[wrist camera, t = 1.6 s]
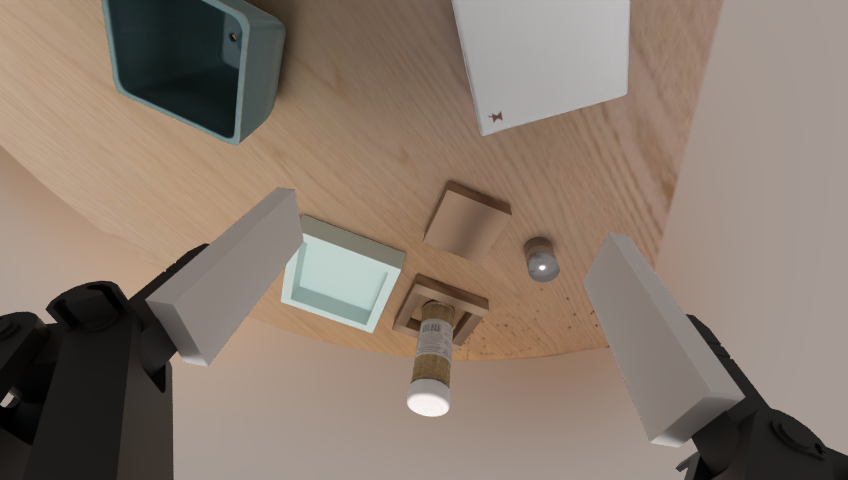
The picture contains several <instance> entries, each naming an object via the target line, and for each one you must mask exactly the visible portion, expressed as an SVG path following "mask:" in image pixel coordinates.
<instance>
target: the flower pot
mask: <svg viewBox="0 0 848 480" xmlns="http://www.w3.org/2000/svg"><path fill="white" fill-rule="evenodd" d="M101 1H102V8H103V13H104V20H105V27H106V33H107V39H108V45H109V50H110V58H111V65H112V73H113V80H114V83H115V86H116V89H117V90H118V92H119V93H121V94H122V95H124V96H126V97H128V98H130V99H132V100H134V101H137V102H139V103H141V104H143V105H146V106H148V107H150V108H152V109H155V110H157V111H160V112H161V113H164V114H166V115H168V116H170V117H172V118H175V119H177V120H179V121H181V122H184V123H186V124H188V125H190V126H193V127H194V128H197V129H199V130H201V131H203V132H205V133H207V134H209V135H212V136H214V137H216V138H218V139H220V140H222V141H224V142H226V143H228V144H232V145H238V144H239V143H240V142H242V141H243V140H244V139H245V138H246V137H247V136H248V135H250V134H251V133H252V132H253V131H254V130H255V129H257V128H258V127H259V126H260V125H261V124H262V123H263V122H264V121H265V120H266V119H267V118H268V116H269V115H270V113H271V111H272V109H273V106H274V103H275V99H276V95H277V88H278V81H279V75H280V68H281V61H282V54H283V48H284V42H285V35H286V29H285V26H284V24H283V23H282V22H281V21H280V20H279V19H278V18H276V17H274V16H272V15H270V14H268V13H267V12H265V11H263V10H261V9H259V8H257V7H255V6H253V5H251V4H250V3H248V2H246V1H244V0H101ZM231 34H235V36H236V38H237V39H236V41H234V40H233V39H232V38H231Z"/></svg>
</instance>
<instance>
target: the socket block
mask: <svg viewBox="0 0 848 480" xmlns="http://www.w3.org/2000/svg"><path fill="white" fill-rule="evenodd" d="M422 296H426V297H429V298H431V299H434V300H437V301H440V302H442V303H445V304H448V305H451V306H453V307H456V308H459V309H462V310H464V311H467V312H466V313H465V315H464V316H463V318H462V319H461V320H460V322H459V323H458V325H457V326H456V327H455V329H454V330H453V339H452V351H455V352H457V350H458V349H459V348H460V347H461V345H462V344H463V343H464V341H465V340H466V339H467V338H468V336H469V335H470V334H471V332H472V331H473V330H474V329H475V327H476V326H477V325H478V324H479V322H480V321H481V320H482V318H483V317H484V316H485V315H486V313H487V312H488V311H489V307H488V300H486V299H484V298H481V297H478V296H476V295H473V294H470V293H468V292H465V291H462V290H460V289H457V288H454V287H452V286H449V285H446V284H444V283H441V282H438V281H435V280H433V279H430V278H427V277H425V276H422V275H419V274H418V275H417V277H416V278H415V280H414V282H413V284H412V286H411V288H410V290H409V292H408V294H407V296H406V298H405V300H404V302H403V304H402V306H401V308H400V310H399V312H398V314H397V316H396V318H395V320H394V324H393V328H392V330H395V331H398V332H401V333H404V334H406V335H409V336H412V337H415V338H418V335H419V330H420V326H421V322H420V321H417V320H415V319H412V318H410V317H411V316H412V314H413V312H414V310H415V308H416V307H417V305H418V303H419V301H420V299H421V298H422Z"/></svg>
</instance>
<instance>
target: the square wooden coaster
mask: <svg viewBox="0 0 848 480" xmlns="http://www.w3.org/2000/svg"><path fill="white" fill-rule="evenodd" d="M511 217H512V213H511V208H510V205H507V204H505V203H503V202H500V201H498V200H495V199H493V198H490V197H488V196H486V195H483V194H481V193H478V192H476V191H473V190H471V189H468V188H466V187H464V186H461V185H459V184H456V183H454V182H451V181H449V182H448V184H447V186H446V188H445V190H444V192H443V194H442V197H441V199H440V201H439V203H438V205H437V207H436V209H435V211H434V214H433V216H432V218H431V220H430V222H429V224H428V226H427V229H426V231H425V234H424V239H423V242H424V243H426V244H429V245H431V246H434V247H437V248H439V249H442V250H445V251H447V252H450V253H452V254H455V255H458V256H460V257H463V258H466V259H468V260H471V261H474V262H476V263H479V264H481V262H482V261H483V259H484V258H485V256H486V255H487V253H488V252H489V250H490V248H491V247H492V245H493V244H494V242H495V241H496V239H497V238H498V236H499V235H500V233H501V232H502V230H503V229H504V227H505V226H506V224H507V223H508V221H509V220H510V218H511Z"/></svg>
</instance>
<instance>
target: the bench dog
mask: <svg viewBox="0 0 848 480" xmlns="http://www.w3.org/2000/svg"><path fill="white" fill-rule="evenodd" d="M524 253H525V257H526V262H527V266H528V271H529V275H530V277H531V278H532V279H533V280H535V281H538V282H548V281H551V280H553V279H554V278H556V277H557V276H558V274H559V271H560V269H559V266H558V263H557V260H556V257H555V254H554V251H553V248H552V246H551V243H550V242H549V241H548V240H547V239H545V238H540V237H538V238H533V239H531V240H529V241H528V242H527V243H526V244H525V246H524Z"/></svg>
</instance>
